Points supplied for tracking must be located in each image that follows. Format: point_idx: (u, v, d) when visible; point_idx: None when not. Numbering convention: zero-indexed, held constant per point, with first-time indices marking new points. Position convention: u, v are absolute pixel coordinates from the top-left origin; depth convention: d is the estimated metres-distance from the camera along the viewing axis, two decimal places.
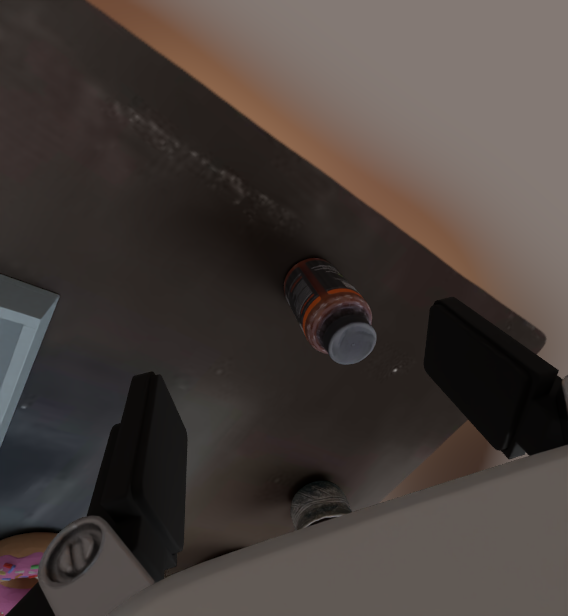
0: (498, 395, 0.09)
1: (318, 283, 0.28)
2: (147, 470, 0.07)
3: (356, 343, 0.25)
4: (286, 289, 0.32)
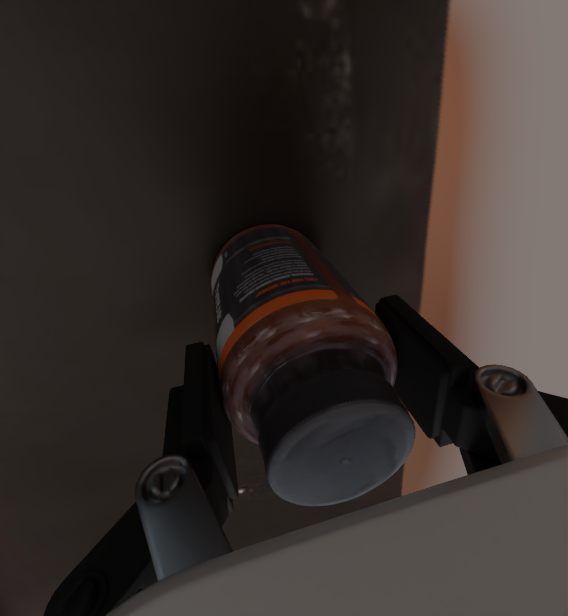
0: (426, 386, 0.09)
1: (328, 271, 0.12)
2: (214, 419, 0.08)
3: (355, 463, 0.08)
4: (235, 244, 0.15)
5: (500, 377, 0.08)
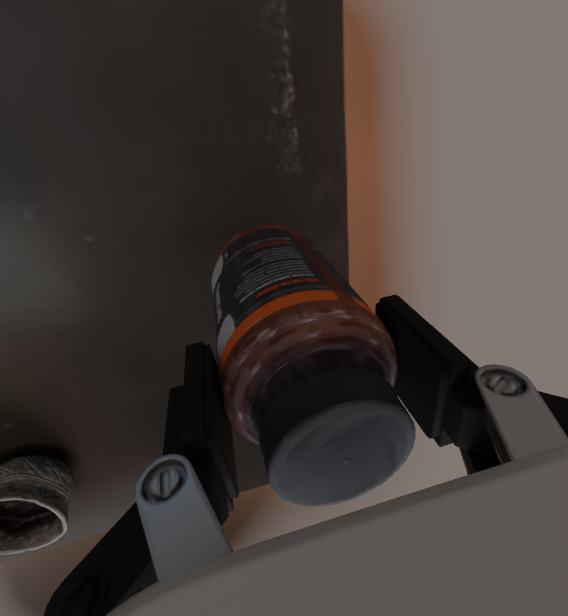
0: (426, 386, 0.09)
1: (328, 272, 0.12)
2: (213, 419, 0.08)
3: (355, 463, 0.08)
4: (235, 245, 0.15)
5: (500, 377, 0.08)
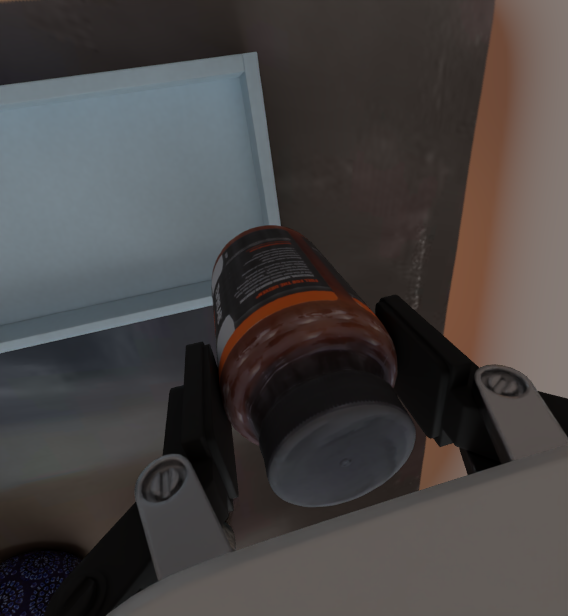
0: (426, 386, 0.09)
1: (328, 272, 0.12)
2: (213, 419, 0.08)
3: (355, 464, 0.08)
4: (235, 245, 0.15)
5: (500, 377, 0.08)
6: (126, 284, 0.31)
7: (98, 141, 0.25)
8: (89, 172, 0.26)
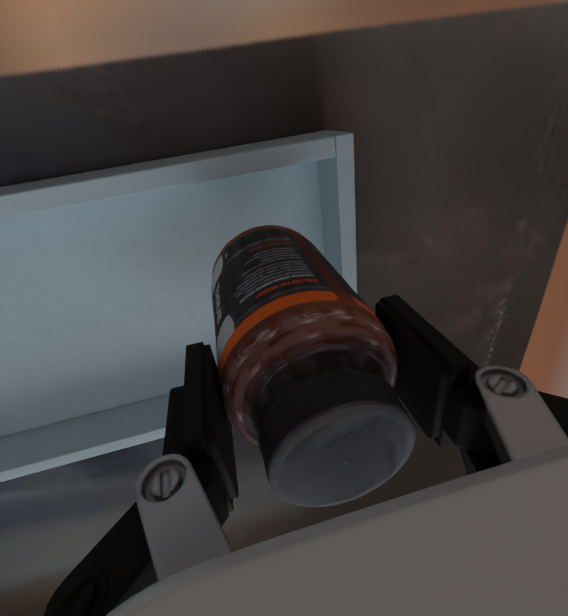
0: (426, 386, 0.09)
1: (328, 272, 0.12)
2: (213, 419, 0.08)
3: (355, 464, 0.08)
4: (235, 245, 0.15)
5: (500, 377, 0.08)
6: (166, 380, 0.26)
7: (142, 232, 0.20)
8: (129, 266, 0.21)
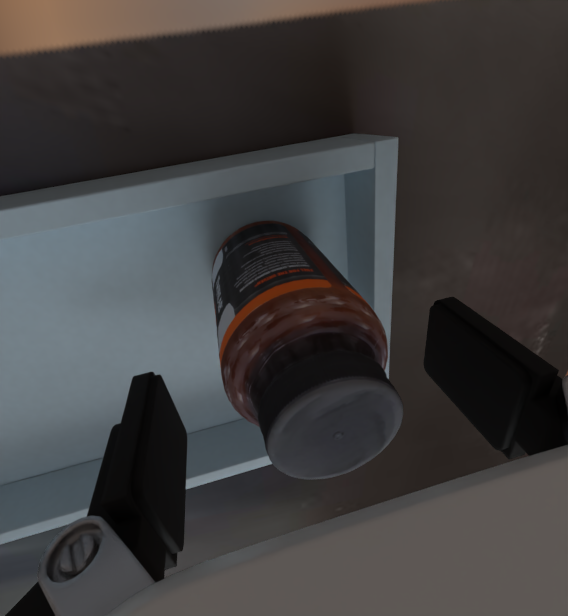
0: (498, 395, 0.09)
1: (323, 263, 0.13)
2: (147, 470, 0.07)
3: (347, 437, 0.09)
4: (235, 239, 0.15)
5: None
6: None
7: (127, 259, 0.16)
8: (113, 300, 0.17)
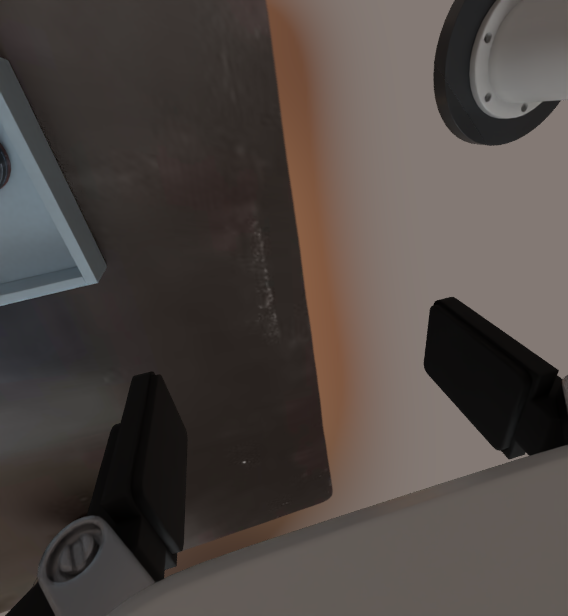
0: (498, 395, 0.09)
1: None
2: (147, 470, 0.07)
3: None
4: None
5: None
6: None
7: None
8: None
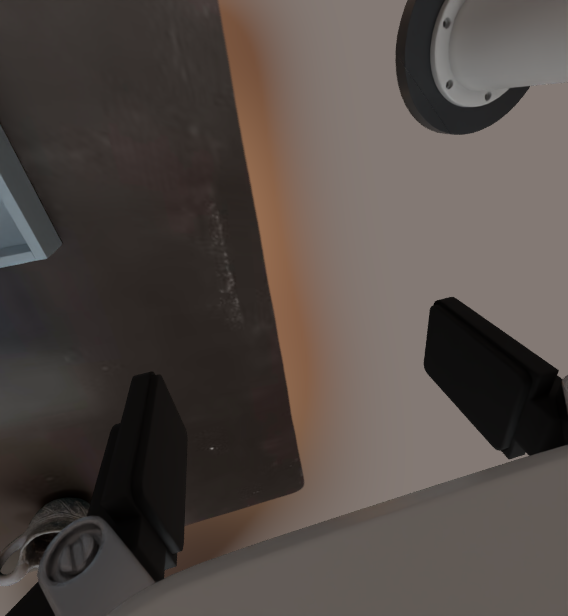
0: (498, 395, 0.09)
1: None
2: (147, 470, 0.07)
3: None
4: None
5: None
6: None
7: None
8: None
